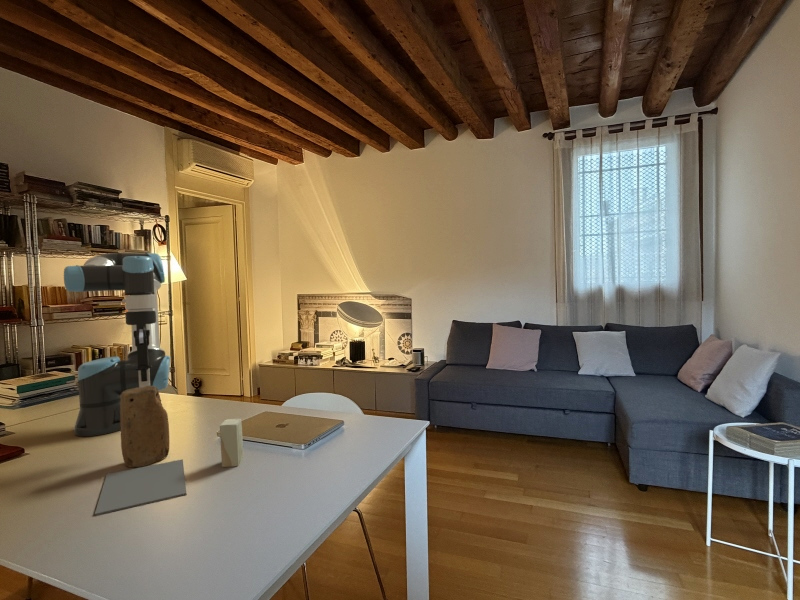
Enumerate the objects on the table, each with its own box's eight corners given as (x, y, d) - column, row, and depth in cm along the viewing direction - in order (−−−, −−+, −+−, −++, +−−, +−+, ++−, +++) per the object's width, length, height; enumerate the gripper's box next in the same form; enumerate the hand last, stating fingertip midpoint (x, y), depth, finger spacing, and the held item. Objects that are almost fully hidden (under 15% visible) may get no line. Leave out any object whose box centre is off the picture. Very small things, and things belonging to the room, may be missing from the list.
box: (227, 459, 118) (225, 418, 117) (244, 458, 118) (242, 417, 118) (221, 467, 113) (219, 425, 112) (238, 466, 113) (236, 424, 112)
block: (125, 471, 112) (121, 394, 111) (121, 462, 118) (116, 388, 117) (172, 459, 119) (168, 386, 118) (166, 451, 125) (162, 382, 124)
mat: (107, 475, 110) (106, 474, 110) (182, 460, 118) (182, 459, 118) (94, 515, 90) (94, 513, 90) (186, 494, 98) (186, 493, 98)
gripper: (126, 310, 130) (131, 389, 131) (123, 312, 119) (128, 398, 119) (155, 308, 134) (160, 385, 134) (155, 310, 122) (159, 394, 123)
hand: (145, 391), depth 127 cm, fingers closed
